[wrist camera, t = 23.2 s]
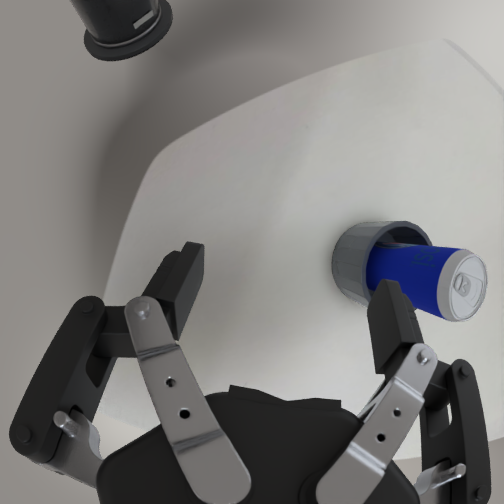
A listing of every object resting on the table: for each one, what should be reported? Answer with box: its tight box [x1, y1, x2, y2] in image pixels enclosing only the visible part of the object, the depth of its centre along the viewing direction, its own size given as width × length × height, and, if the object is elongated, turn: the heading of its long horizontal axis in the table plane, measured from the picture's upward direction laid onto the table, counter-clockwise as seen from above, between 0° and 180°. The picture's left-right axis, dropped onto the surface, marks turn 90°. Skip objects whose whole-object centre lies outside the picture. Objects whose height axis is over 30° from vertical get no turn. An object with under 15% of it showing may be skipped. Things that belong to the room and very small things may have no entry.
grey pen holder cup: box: [332, 221, 432, 310], centre depth 28 cm, size 9×9×7 cm
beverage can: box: [366, 241, 488, 322], centre depth 23 cm, size 5×5×15 cm
